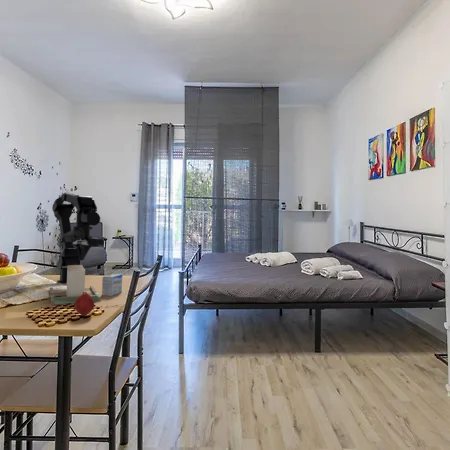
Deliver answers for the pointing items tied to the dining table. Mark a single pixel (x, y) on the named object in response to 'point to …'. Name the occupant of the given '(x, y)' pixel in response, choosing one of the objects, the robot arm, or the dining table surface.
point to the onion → (84, 304)
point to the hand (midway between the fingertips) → (81, 260)
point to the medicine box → (112, 284)
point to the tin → (75, 280)
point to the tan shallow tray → (65, 299)
